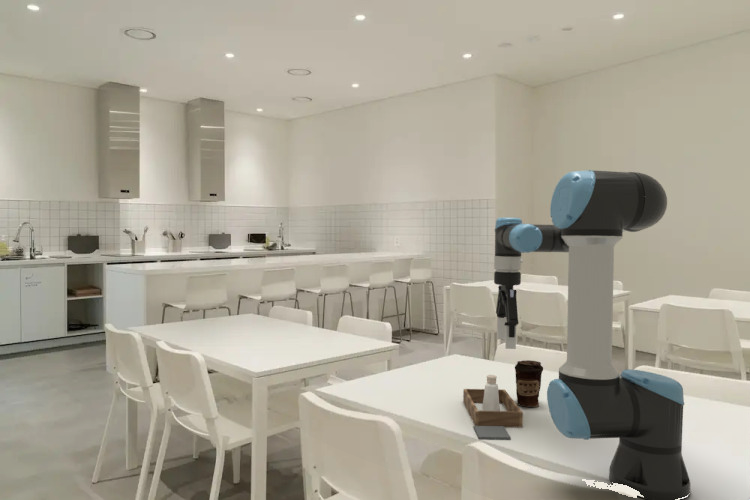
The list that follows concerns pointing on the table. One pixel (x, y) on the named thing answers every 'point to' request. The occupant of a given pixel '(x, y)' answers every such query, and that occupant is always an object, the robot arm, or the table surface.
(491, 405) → the salt shaker
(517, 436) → the table surface
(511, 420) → the tray
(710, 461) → the table surface
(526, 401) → the coffee cup
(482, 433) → the mat
